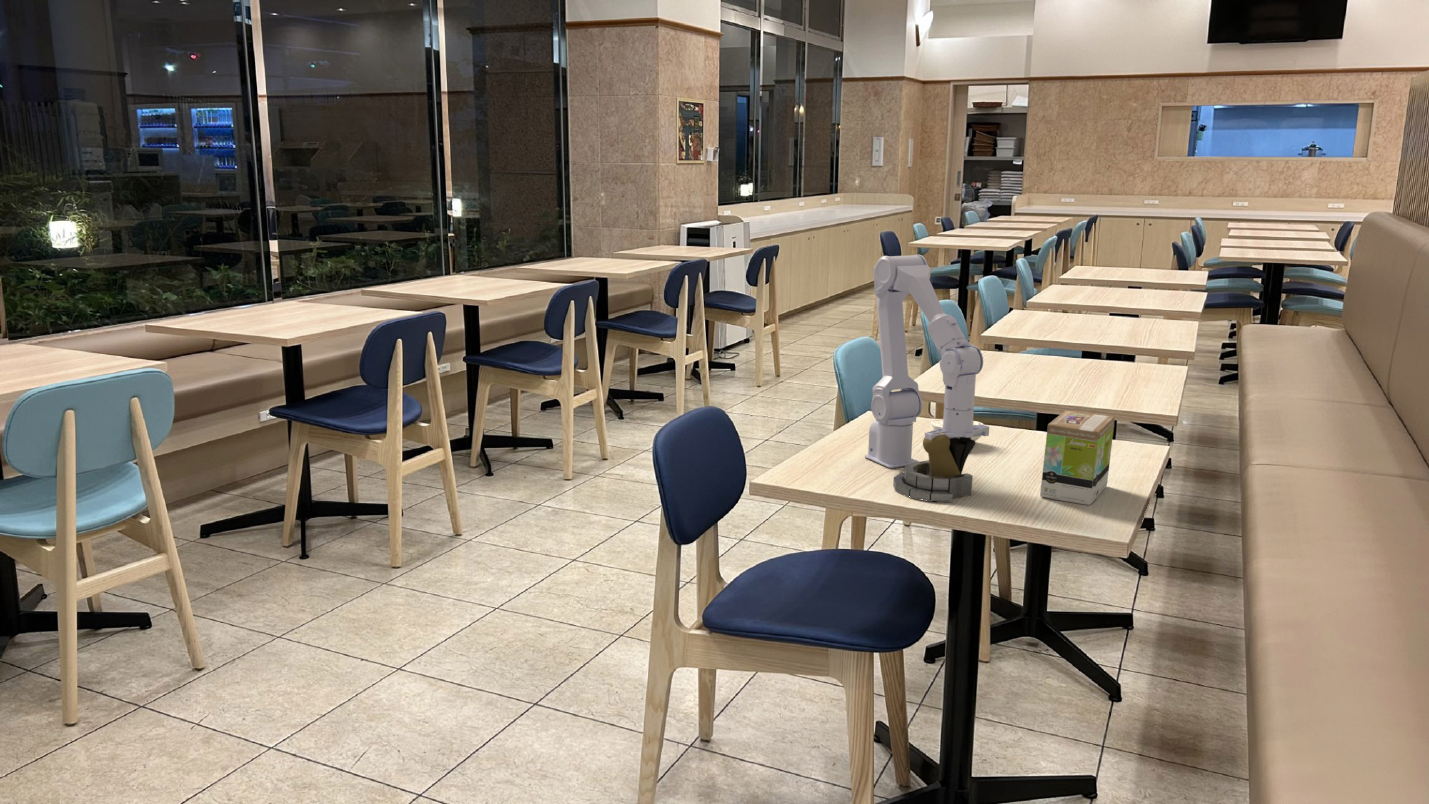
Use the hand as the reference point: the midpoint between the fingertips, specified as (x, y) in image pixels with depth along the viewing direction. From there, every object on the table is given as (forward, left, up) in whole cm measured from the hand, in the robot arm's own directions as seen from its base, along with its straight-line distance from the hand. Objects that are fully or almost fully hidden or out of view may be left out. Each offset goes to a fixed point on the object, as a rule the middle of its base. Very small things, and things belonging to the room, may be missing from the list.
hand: (954, 474), depth 208 cm
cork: (0, -2, -2) cm, 2 cm away
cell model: (-25, +21, -3) cm, 33 cm away
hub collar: (0, -7, -2) cm, 7 cm away
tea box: (+13, +19, -3) cm, 23 cm away
